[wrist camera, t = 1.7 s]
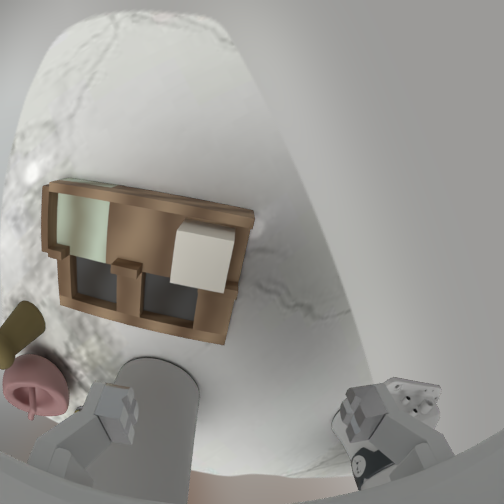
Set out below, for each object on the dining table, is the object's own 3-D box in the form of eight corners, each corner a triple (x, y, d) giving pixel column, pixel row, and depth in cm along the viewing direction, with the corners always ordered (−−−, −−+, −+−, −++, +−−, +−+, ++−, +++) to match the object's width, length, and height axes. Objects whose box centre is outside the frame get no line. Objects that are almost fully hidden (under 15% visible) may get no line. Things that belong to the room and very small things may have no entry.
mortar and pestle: (71, 402, 41) (48, 446, 30) (21, 364, 38) (-8, 403, 27) (87, 371, 38) (59, 423, 27) (29, 326, 35) (-8, 369, 24)
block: (235, 228, 29) (234, 241, 25) (225, 273, 31) (223, 293, 26) (186, 218, 29) (176, 230, 24) (179, 264, 30) (169, 282, 26)
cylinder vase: (202, 363, 37) (180, 541, 14) (198, 417, 41) (184, 557, 18) (115, 347, 36) (44, 499, 12) (124, 403, 40) (83, 531, 16)
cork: (48, 339, 36) (13, 382, 25) (21, 328, 35) (-15, 366, 25) (42, 306, 34) (1, 348, 23) (14, 296, 33) (-27, 332, 23)
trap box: (253, 210, 31) (254, 218, 27) (224, 335, 36) (223, 355, 32) (61, 176, 28) (42, 181, 24) (61, 296, 33) (47, 310, 29)
